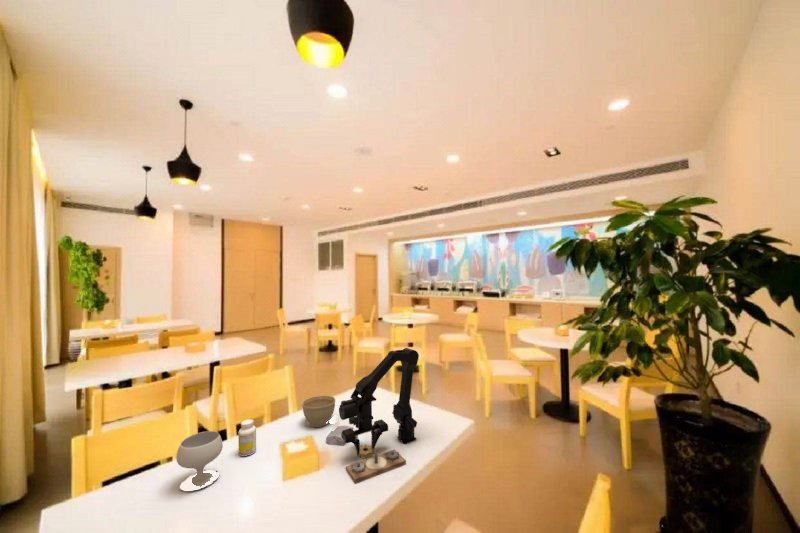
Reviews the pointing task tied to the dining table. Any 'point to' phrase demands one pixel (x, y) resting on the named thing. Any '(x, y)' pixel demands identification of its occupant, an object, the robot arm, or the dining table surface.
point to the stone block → (337, 436)
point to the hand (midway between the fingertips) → (365, 451)
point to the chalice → (199, 454)
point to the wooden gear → (365, 452)
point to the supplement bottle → (247, 438)
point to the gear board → (375, 465)
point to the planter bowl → (318, 410)
